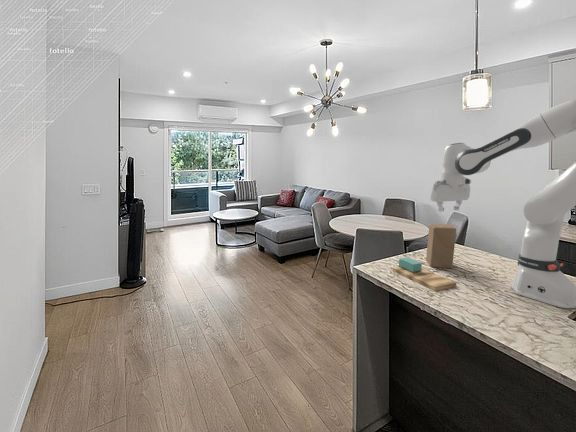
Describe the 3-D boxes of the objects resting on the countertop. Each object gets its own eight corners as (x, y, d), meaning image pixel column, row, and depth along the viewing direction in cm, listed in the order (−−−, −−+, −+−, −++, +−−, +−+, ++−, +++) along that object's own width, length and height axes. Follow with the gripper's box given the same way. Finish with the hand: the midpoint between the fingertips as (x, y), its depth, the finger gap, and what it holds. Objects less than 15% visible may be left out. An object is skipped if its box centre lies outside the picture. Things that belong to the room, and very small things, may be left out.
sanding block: (421, 271, 143) (421, 263, 142) (412, 272, 141) (413, 264, 140) (406, 265, 151) (407, 257, 151) (398, 266, 149) (399, 258, 149)
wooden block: (452, 268, 151) (456, 228, 148) (430, 267, 153) (434, 227, 150) (446, 262, 161) (450, 224, 157) (425, 260, 163) (429, 223, 159)
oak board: (456, 286, 130) (456, 282, 130) (434, 290, 126) (435, 287, 125) (411, 267, 153) (412, 264, 153) (392, 270, 149) (392, 267, 148)
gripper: (440, 181, 133) (437, 213, 135) (473, 180, 141) (470, 210, 143) (428, 180, 139) (426, 211, 141) (461, 179, 146) (458, 208, 149)
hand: (448, 210), depth 142 cm, fingers open, 8 cm apart
